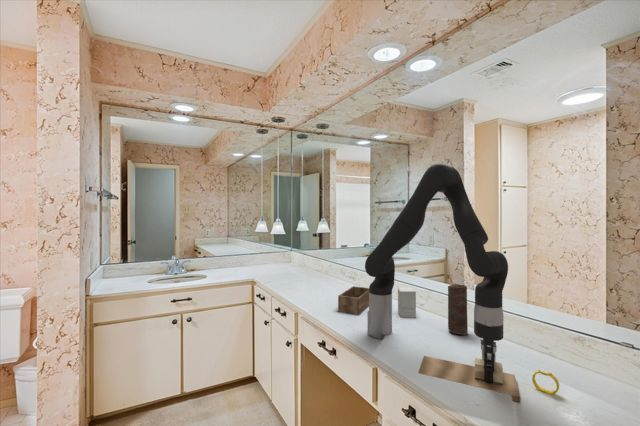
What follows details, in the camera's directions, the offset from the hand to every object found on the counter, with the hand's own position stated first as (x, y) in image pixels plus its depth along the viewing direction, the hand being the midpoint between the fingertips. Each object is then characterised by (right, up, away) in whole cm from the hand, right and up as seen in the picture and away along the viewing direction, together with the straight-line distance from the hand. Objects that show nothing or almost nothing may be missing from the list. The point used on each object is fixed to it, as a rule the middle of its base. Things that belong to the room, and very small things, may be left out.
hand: (488, 378), depth 88 cm
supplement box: (-7, -1, +58) cm, 58 cm away
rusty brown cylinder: (+8, -2, +37) cm, 38 cm away
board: (-5, -2, +3) cm, 6 cm away
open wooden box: (-30, -1, +70) cm, 76 cm away
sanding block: (0, 0, 0) cm, 0 cm away
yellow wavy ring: (+14, -2, -4) cm, 15 cm away
